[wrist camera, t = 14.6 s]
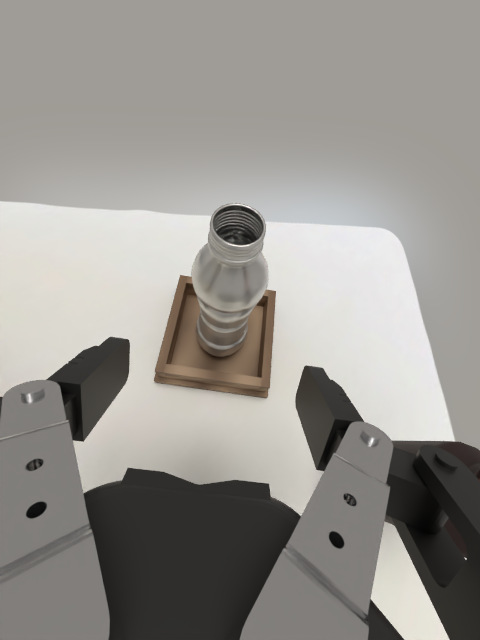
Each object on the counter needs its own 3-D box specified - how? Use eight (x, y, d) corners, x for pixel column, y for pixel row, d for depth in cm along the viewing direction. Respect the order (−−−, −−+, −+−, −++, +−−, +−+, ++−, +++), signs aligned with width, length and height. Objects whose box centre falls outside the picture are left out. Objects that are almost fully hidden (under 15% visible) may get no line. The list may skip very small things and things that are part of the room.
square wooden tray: (155, 382, 32) (149, 375, 28) (179, 287, 38) (177, 271, 34) (265, 397, 33) (273, 392, 29) (272, 302, 39) (279, 288, 35)
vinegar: (334, 511, 28) (561, 640, 10) (318, 444, 31) (476, 451, 13) (388, 500, 29) (678, 598, 11) (369, 436, 32) (578, 433, 14)
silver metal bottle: (246, 318, 36) (289, 196, 18) (241, 365, 33) (286, 276, 15) (201, 311, 35) (197, 178, 17) (191, 357, 32) (175, 257, 14)
